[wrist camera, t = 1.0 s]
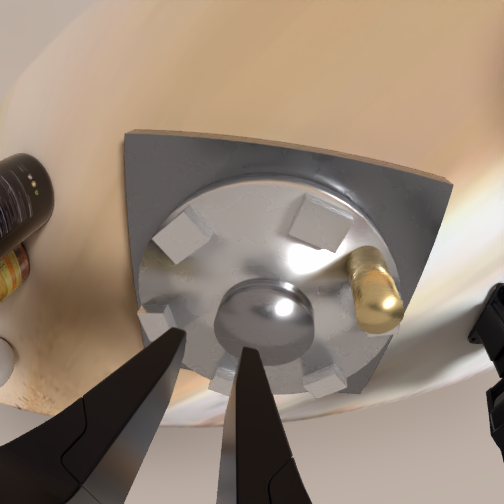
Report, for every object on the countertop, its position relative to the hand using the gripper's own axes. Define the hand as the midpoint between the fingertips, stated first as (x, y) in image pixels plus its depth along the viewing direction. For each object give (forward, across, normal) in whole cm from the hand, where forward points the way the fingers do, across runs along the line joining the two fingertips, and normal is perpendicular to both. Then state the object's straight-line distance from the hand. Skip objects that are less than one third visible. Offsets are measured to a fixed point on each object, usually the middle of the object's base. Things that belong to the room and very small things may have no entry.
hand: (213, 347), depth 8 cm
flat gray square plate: (+13, -2, +7) cm, 15 cm away
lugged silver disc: (+11, -2, +7) cm, 13 cm away
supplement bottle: (+13, +19, +4) cm, 24 cm away
